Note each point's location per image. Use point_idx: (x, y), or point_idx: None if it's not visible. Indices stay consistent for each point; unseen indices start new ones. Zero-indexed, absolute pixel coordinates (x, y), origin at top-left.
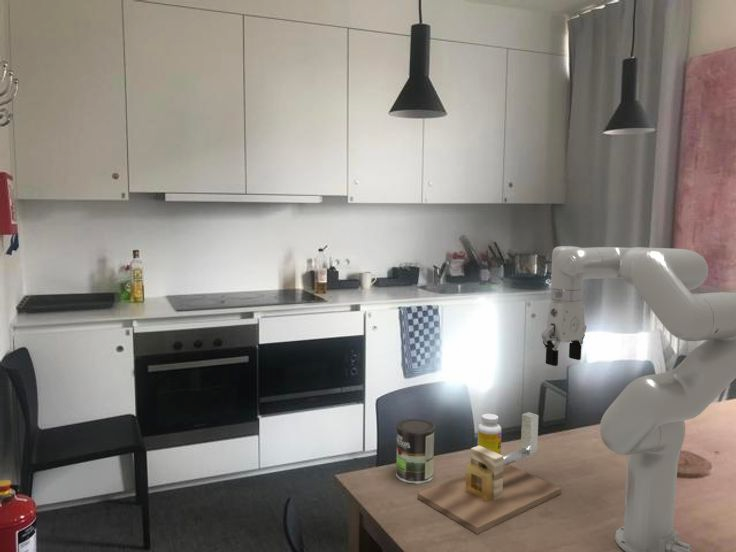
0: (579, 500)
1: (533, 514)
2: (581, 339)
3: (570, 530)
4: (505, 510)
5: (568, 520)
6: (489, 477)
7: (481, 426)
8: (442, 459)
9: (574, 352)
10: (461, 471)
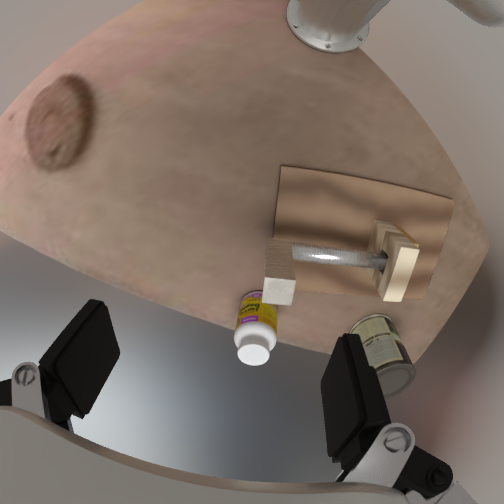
0: (278, 133)
1: (371, 165)
2: (16, 391)
3: (373, 106)
4: (405, 195)
5: (350, 118)
6: (412, 241)
7: (271, 348)
8: (308, 340)
9: (95, 355)
10: (323, 306)
